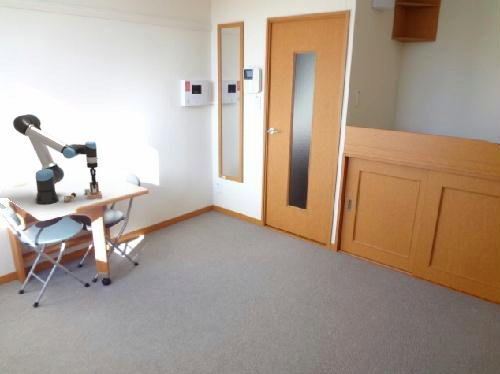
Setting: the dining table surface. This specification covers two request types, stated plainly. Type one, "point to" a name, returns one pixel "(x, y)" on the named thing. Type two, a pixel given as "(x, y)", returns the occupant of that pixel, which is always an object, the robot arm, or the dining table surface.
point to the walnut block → (96, 187)
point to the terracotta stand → (94, 195)
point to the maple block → (68, 198)
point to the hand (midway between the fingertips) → (94, 191)
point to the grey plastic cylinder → (86, 191)
